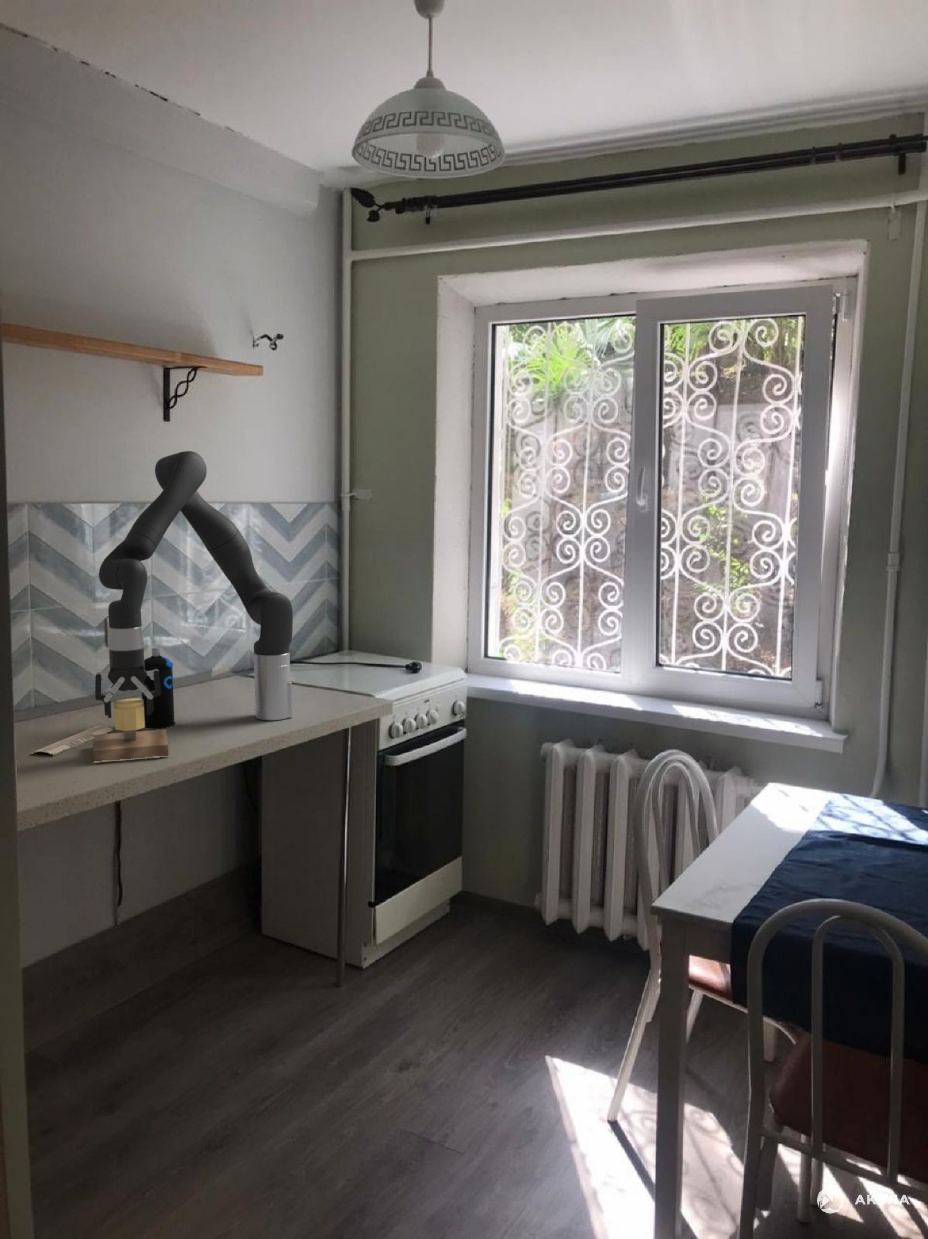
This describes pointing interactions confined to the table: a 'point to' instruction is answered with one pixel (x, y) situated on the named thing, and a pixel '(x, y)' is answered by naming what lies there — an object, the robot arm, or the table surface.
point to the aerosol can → (165, 701)
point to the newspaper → (75, 740)
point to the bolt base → (130, 745)
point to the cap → (129, 714)
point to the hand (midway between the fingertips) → (129, 715)
